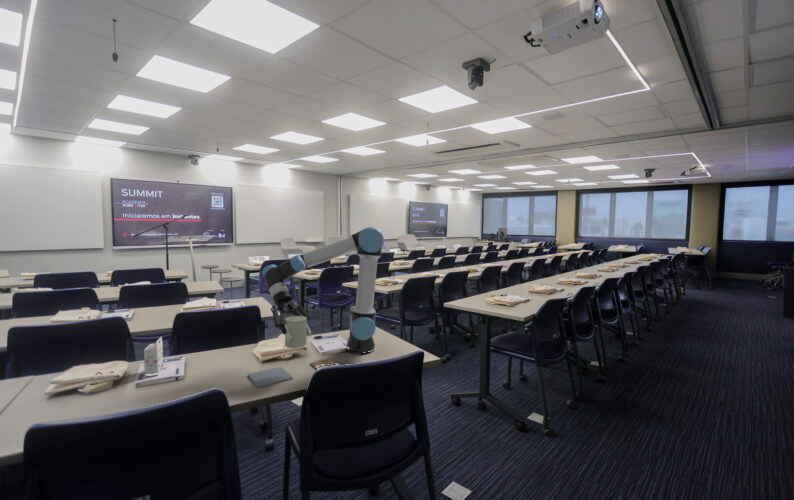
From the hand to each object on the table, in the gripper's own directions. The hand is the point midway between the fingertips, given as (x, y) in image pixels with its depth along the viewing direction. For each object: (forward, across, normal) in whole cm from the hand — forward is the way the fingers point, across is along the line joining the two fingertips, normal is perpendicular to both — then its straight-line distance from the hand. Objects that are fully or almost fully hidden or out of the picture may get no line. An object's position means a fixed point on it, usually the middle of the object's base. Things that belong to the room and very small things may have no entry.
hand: (300, 337), depth 147 cm
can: (+1, 0, -5) cm, 5 cm away
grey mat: (+7, +9, -18) cm, 21 cm away
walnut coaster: (+11, -15, -13) cm, 23 cm away
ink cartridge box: (-21, +41, -46) cm, 65 cm away
